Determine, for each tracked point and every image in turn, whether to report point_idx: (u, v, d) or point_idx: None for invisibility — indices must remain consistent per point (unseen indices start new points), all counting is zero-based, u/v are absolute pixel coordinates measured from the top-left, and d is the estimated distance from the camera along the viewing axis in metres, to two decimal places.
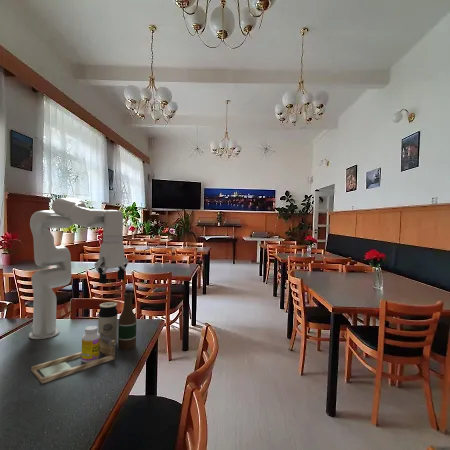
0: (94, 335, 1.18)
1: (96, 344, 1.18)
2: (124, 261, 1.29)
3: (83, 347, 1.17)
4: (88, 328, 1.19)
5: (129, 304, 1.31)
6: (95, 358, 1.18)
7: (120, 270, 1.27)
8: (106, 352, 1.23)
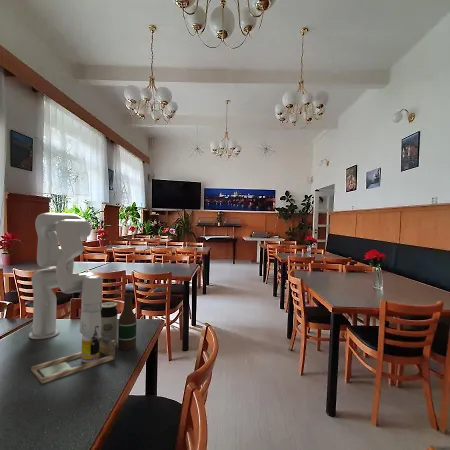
0: (94, 335, 1.18)
1: None
2: None
3: (83, 347, 1.17)
4: None
5: (129, 304, 1.31)
6: (95, 358, 1.18)
7: None
8: (106, 352, 1.23)
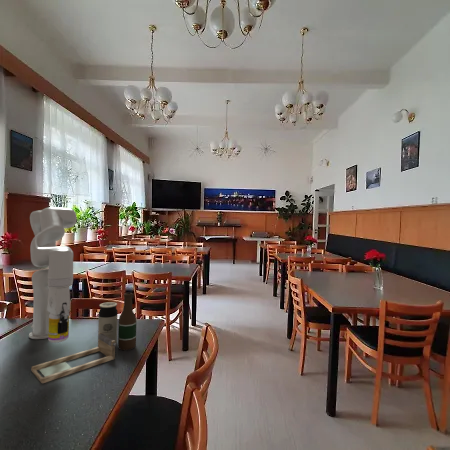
0: None
1: None
2: None
3: (50, 325, 1.08)
4: None
5: (129, 304, 1.31)
6: (63, 338, 1.09)
7: None
8: (106, 352, 1.23)
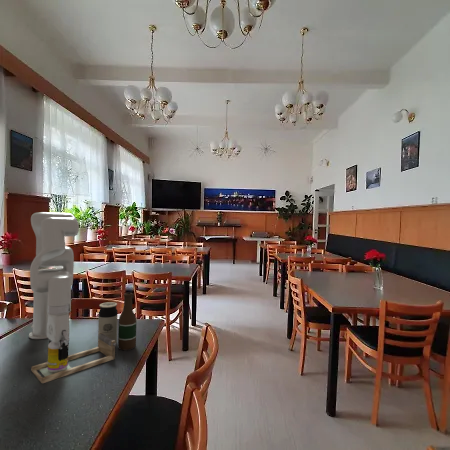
0: (61, 342, 1.09)
1: None
2: None
3: (49, 355, 1.08)
4: None
5: (129, 304, 1.31)
6: (62, 367, 1.09)
7: None
8: (106, 352, 1.23)
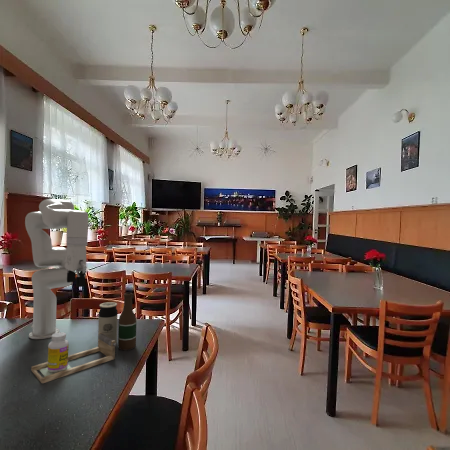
0: (61, 342, 1.09)
1: (64, 352, 1.09)
2: None
3: (49, 355, 1.08)
4: (55, 335, 1.10)
5: (129, 304, 1.31)
6: (62, 367, 1.09)
7: (71, 272, 1.22)
8: (106, 352, 1.23)
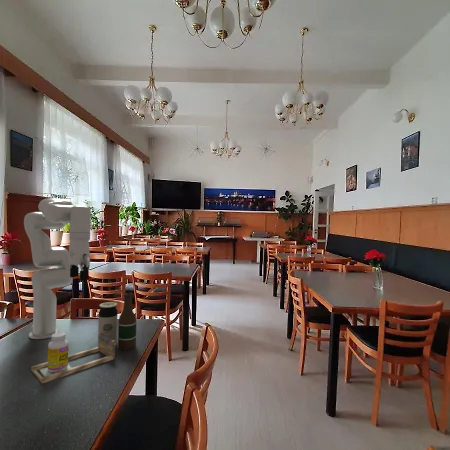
0: (61, 342, 1.09)
1: (64, 352, 1.09)
2: None
3: (49, 356, 1.08)
4: (55, 335, 1.10)
5: (129, 304, 1.31)
6: (62, 367, 1.09)
7: (74, 267, 1.23)
8: (106, 352, 1.23)
